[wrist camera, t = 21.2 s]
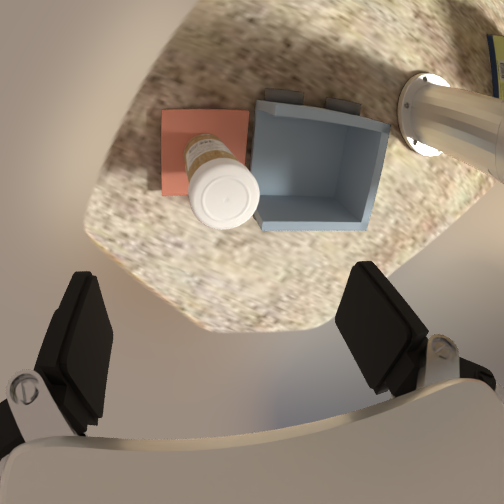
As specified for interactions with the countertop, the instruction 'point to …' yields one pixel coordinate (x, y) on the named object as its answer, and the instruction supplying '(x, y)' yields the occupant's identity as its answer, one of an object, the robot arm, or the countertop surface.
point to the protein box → (497, 64)
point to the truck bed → (315, 163)
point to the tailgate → (188, 126)
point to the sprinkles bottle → (218, 184)
